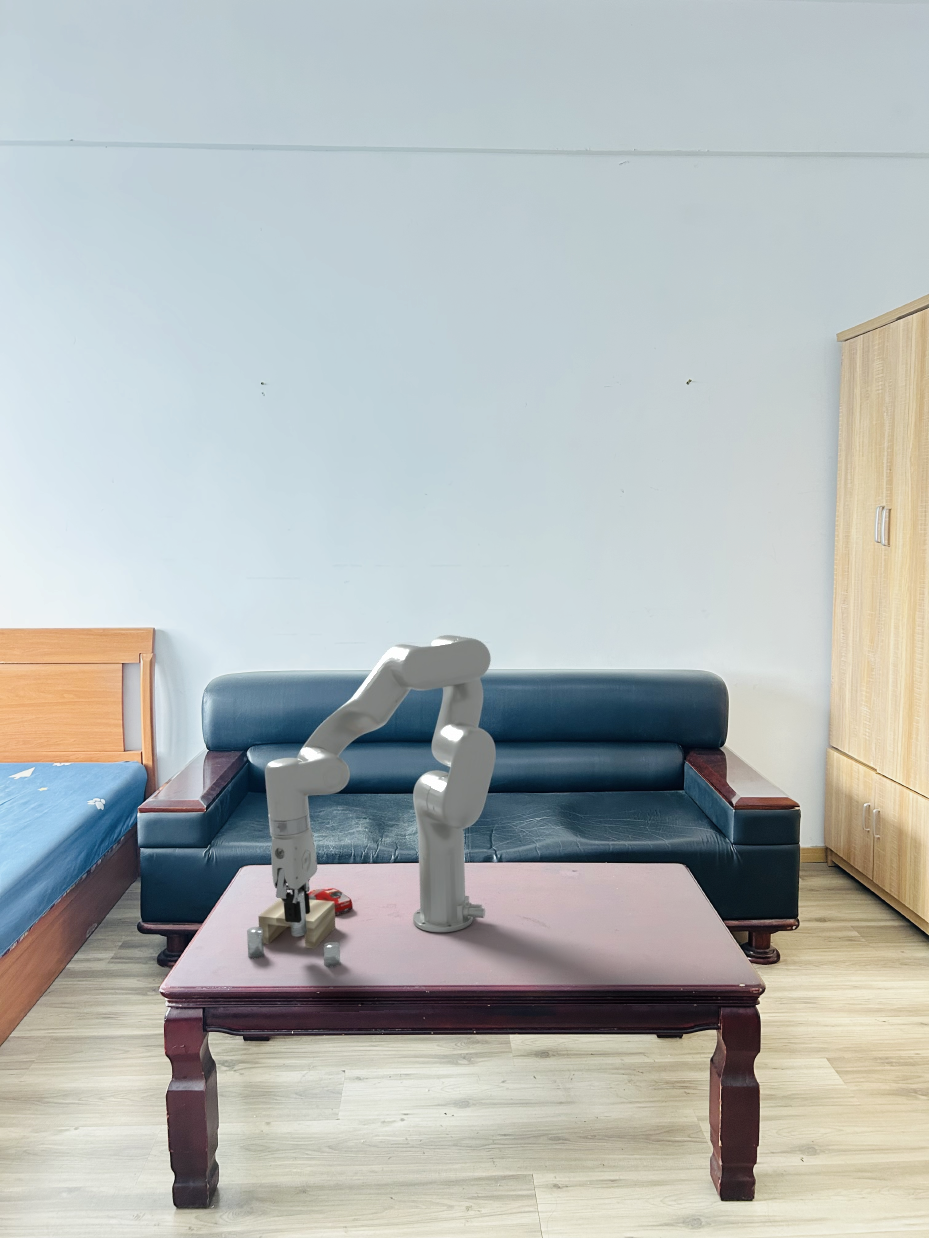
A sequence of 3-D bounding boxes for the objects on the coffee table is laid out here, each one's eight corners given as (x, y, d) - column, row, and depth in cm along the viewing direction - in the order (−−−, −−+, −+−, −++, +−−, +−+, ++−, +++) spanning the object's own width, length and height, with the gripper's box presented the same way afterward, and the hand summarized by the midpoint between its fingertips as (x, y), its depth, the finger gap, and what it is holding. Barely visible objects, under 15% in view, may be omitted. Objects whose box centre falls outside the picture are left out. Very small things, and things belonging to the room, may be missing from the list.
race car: (301, 903, 194) (301, 885, 194) (322, 896, 198) (321, 879, 198) (335, 919, 184) (334, 901, 184) (356, 912, 188) (355, 894, 188)
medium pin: (266, 952, 169) (265, 927, 169) (259, 959, 166) (258, 933, 166) (253, 950, 170) (251, 926, 170) (245, 957, 167) (244, 932, 167)
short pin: (342, 960, 165) (342, 942, 165) (336, 967, 162) (335, 949, 162) (328, 959, 166) (327, 941, 165) (321, 966, 163) (320, 948, 163)
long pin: (309, 929, 167) (306, 889, 167) (302, 936, 164) (299, 896, 164) (295, 928, 168) (292, 889, 167) (288, 935, 165) (285, 895, 164)
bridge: (335, 927, 180) (334, 901, 179) (314, 948, 170) (313, 921, 170) (282, 922, 183) (281, 896, 183) (259, 942, 173) (258, 915, 173)
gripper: (287, 839, 155) (296, 938, 157) (326, 810, 171) (333, 900, 173) (250, 838, 157) (259, 935, 159) (291, 810, 173) (299, 898, 175)
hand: (297, 916), depth 166 cm, fingers closed on long pin, 3 cm apart
